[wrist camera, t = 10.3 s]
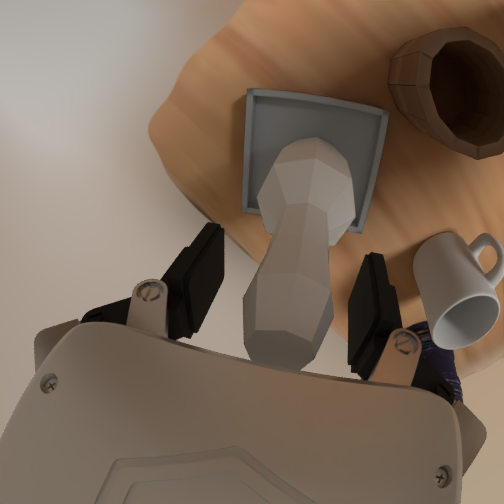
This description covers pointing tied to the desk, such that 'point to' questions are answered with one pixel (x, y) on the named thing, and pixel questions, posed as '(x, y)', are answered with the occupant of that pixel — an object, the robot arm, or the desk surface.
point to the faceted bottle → (297, 253)
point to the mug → (458, 288)
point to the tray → (312, 125)
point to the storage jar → (438, 357)
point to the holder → (477, 82)
